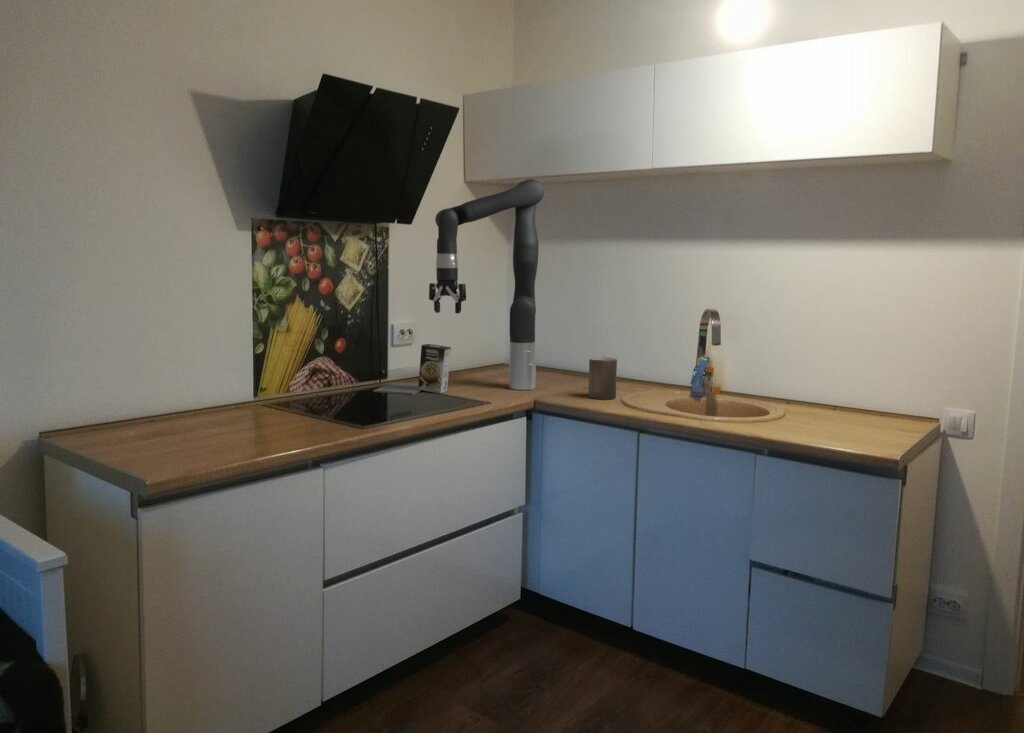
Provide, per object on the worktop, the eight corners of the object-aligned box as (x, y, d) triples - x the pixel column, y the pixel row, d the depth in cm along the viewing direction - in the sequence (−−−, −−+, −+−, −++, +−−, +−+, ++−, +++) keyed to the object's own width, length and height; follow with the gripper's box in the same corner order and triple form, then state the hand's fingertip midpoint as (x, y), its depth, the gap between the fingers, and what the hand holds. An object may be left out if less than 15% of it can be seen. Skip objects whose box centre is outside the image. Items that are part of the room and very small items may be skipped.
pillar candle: (618, 399, 259) (620, 356, 258) (590, 399, 259) (591, 356, 257) (612, 395, 269) (614, 353, 267) (585, 394, 268) (587, 353, 267)
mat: (431, 386, 279) (431, 385, 279) (412, 394, 262) (412, 393, 262) (393, 384, 283) (393, 382, 283) (372, 392, 266) (372, 390, 266)
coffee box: (417, 390, 268) (420, 344, 265) (424, 387, 274) (427, 343, 271) (441, 393, 265) (444, 348, 263) (447, 390, 271) (451, 346, 269)
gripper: (469, 266, 266) (470, 313, 268) (436, 266, 273) (436, 311, 275) (458, 267, 259) (458, 314, 262) (424, 266, 266) (424, 312, 268)
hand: (447, 312), depth 268 cm, fingers open, 8 cm apart
